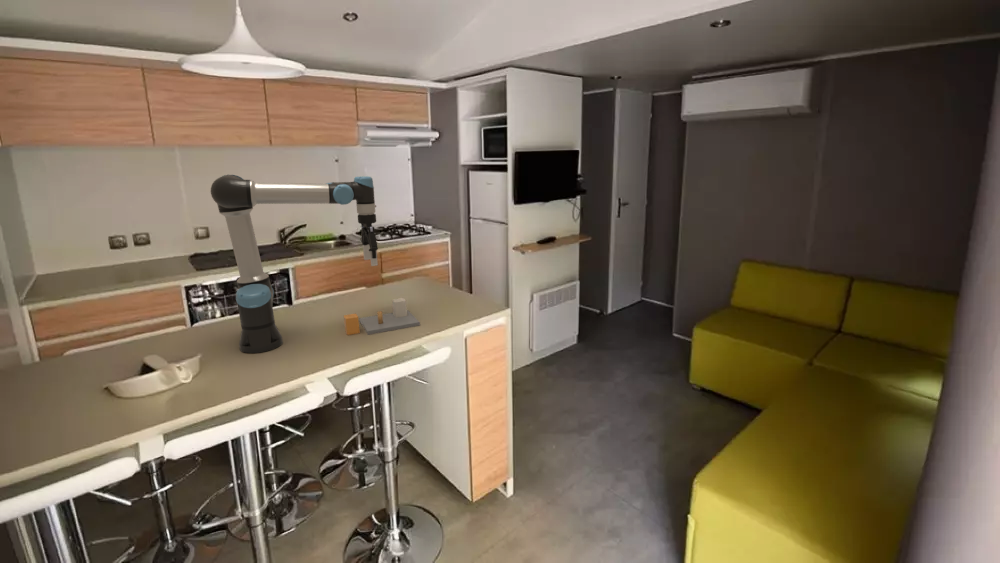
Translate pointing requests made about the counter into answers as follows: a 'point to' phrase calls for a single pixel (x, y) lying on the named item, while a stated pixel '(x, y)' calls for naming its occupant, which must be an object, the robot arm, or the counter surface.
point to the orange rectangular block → (351, 324)
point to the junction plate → (390, 319)
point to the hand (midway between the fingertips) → (370, 262)
